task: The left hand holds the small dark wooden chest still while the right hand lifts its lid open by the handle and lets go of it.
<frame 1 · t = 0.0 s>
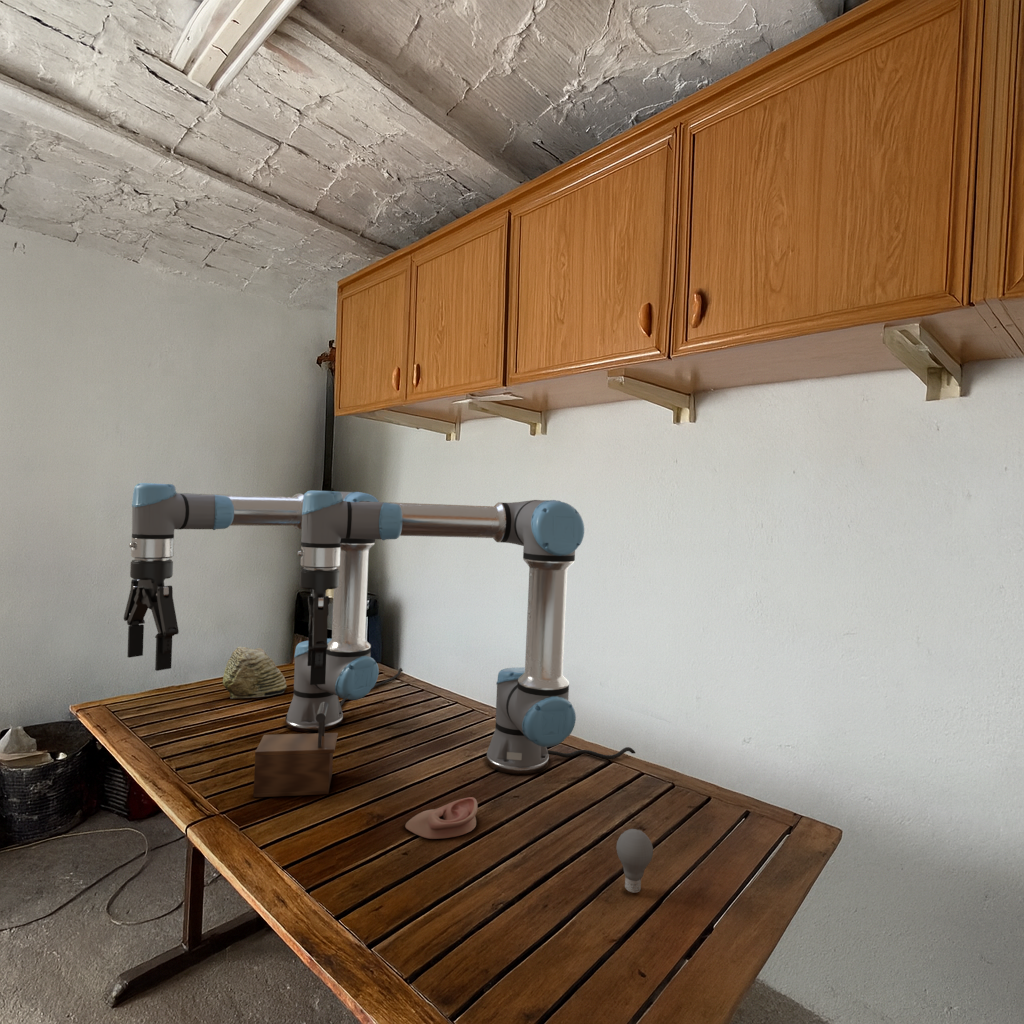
left hand: (148, 662, 129), 28 cm above the table, tool pointing down, fingers open, 13 cm apart
right hand: (315, 674, 126), 28 cm above the table, tool pointing down, fingers open, 13 cm apart
fossil: (254, 694, 198), on the table
lid: (298, 726, 138), point 13 cm above the table, hinge at 0.0°
chest: (294, 785, 138), on the table
light bulb: (632, 891, 106), on the table
anatomical model: (441, 825, 124), on the table
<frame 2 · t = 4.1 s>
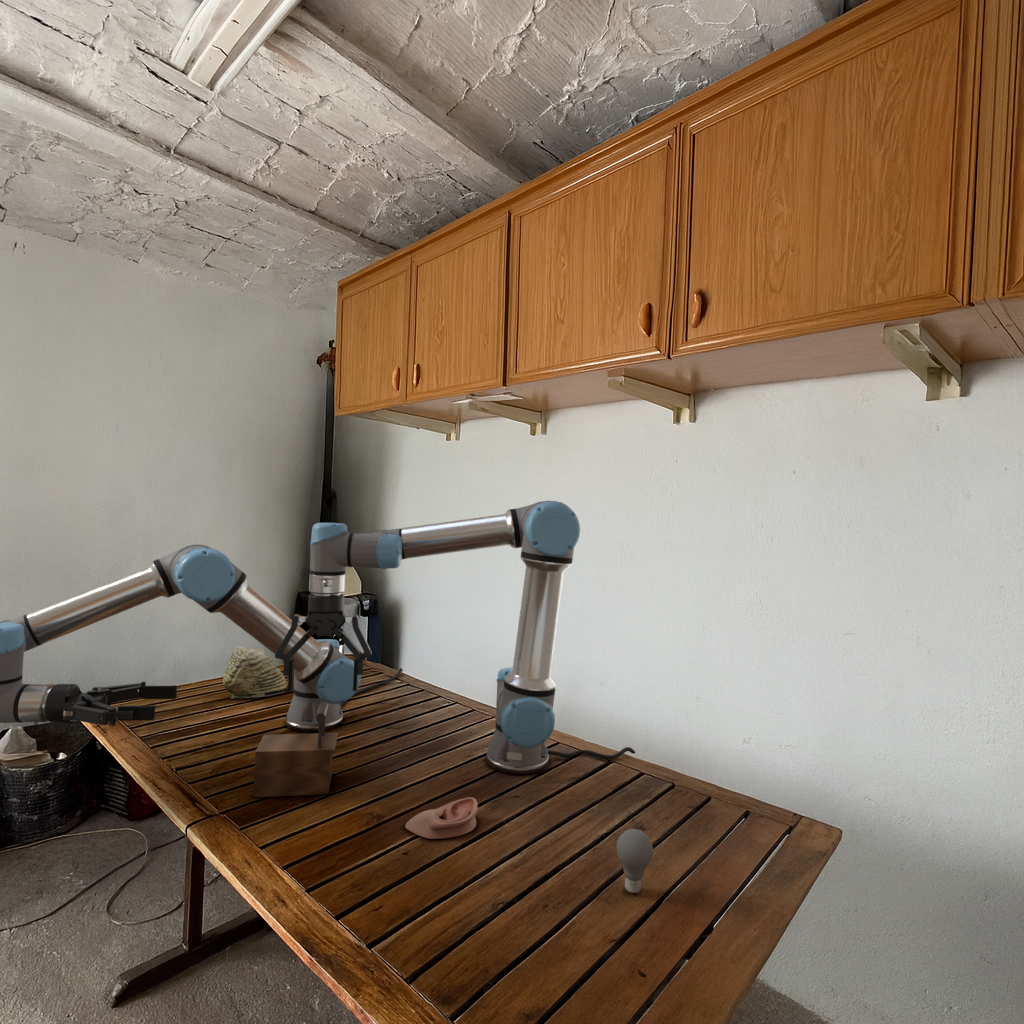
left hand: (166, 701, 133), 19 cm above the table, tool horizontal, fingers open, 13 cm apart
right hand: (323, 689, 139), 21 cm above the table, tool pointing down, fingers open, 13 cm apart
nothing on the table moved.
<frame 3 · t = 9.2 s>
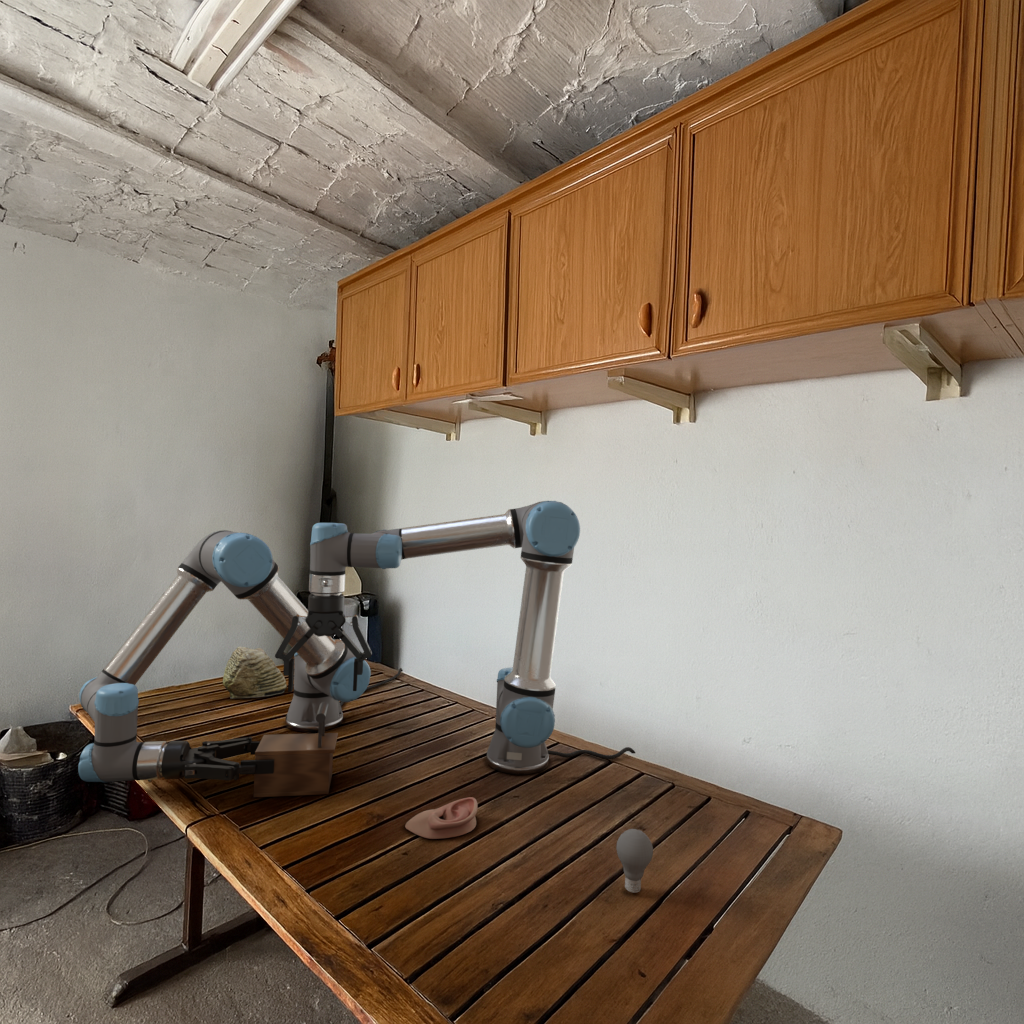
left hand: (277, 756, 137), 7 cm above the table, tool horizontal, fingers closed on chest, 10 cm apart
right hand: (323, 689, 139), 21 cm above the table, tool pointing down, fingers open, 13 cm apart
chest: (294, 785, 138), on the table, touching left hand
everything else where it was.
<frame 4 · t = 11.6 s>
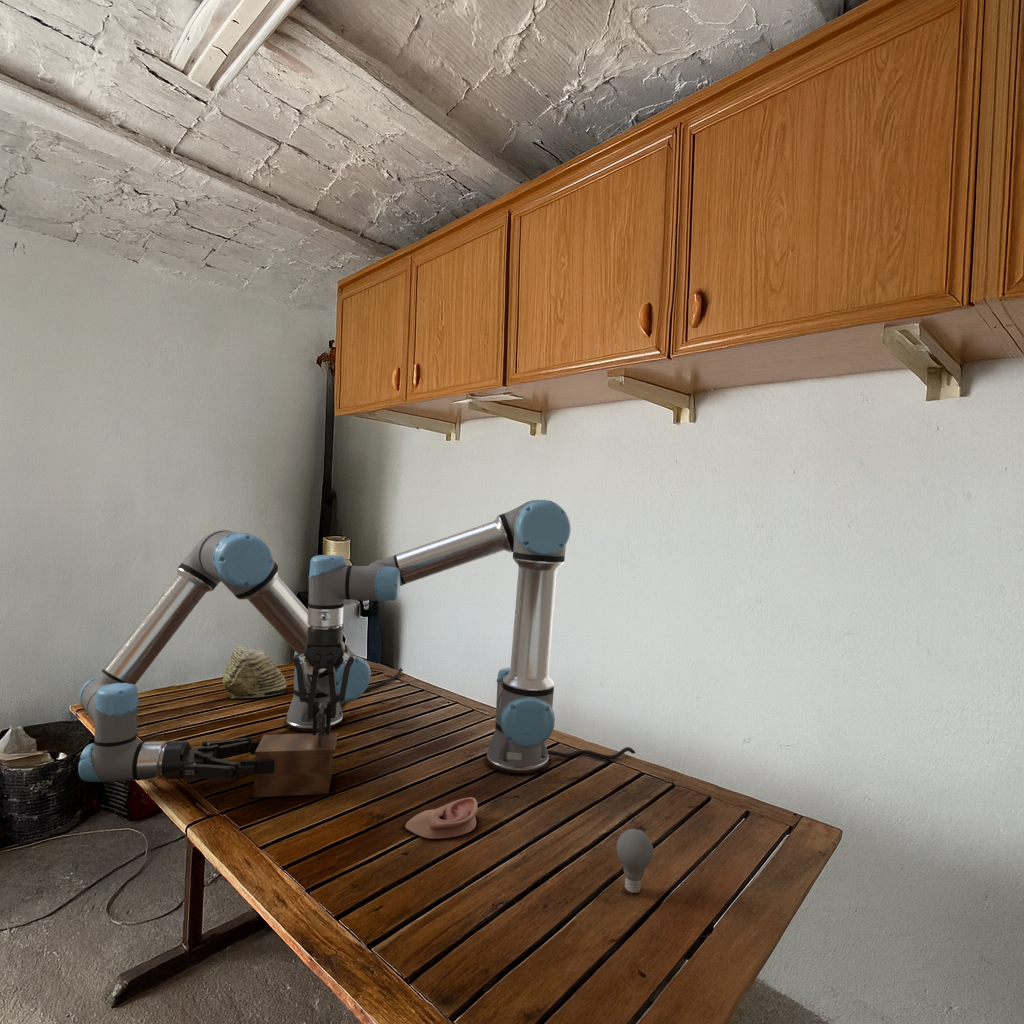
left hand: (277, 756, 137), 7 cm above the table, tool horizontal, fingers closed on chest, 10 cm apart
right hand: (321, 732, 139), 12 cm above the table, tool pointing down, fingers closed on lid, 2 cm apart
lid: (298, 726, 138), point 13 cm above the table, hinge at 0.0°, touching right hand
chest: (294, 785, 138), on the table, touching left hand
everything else where it was.
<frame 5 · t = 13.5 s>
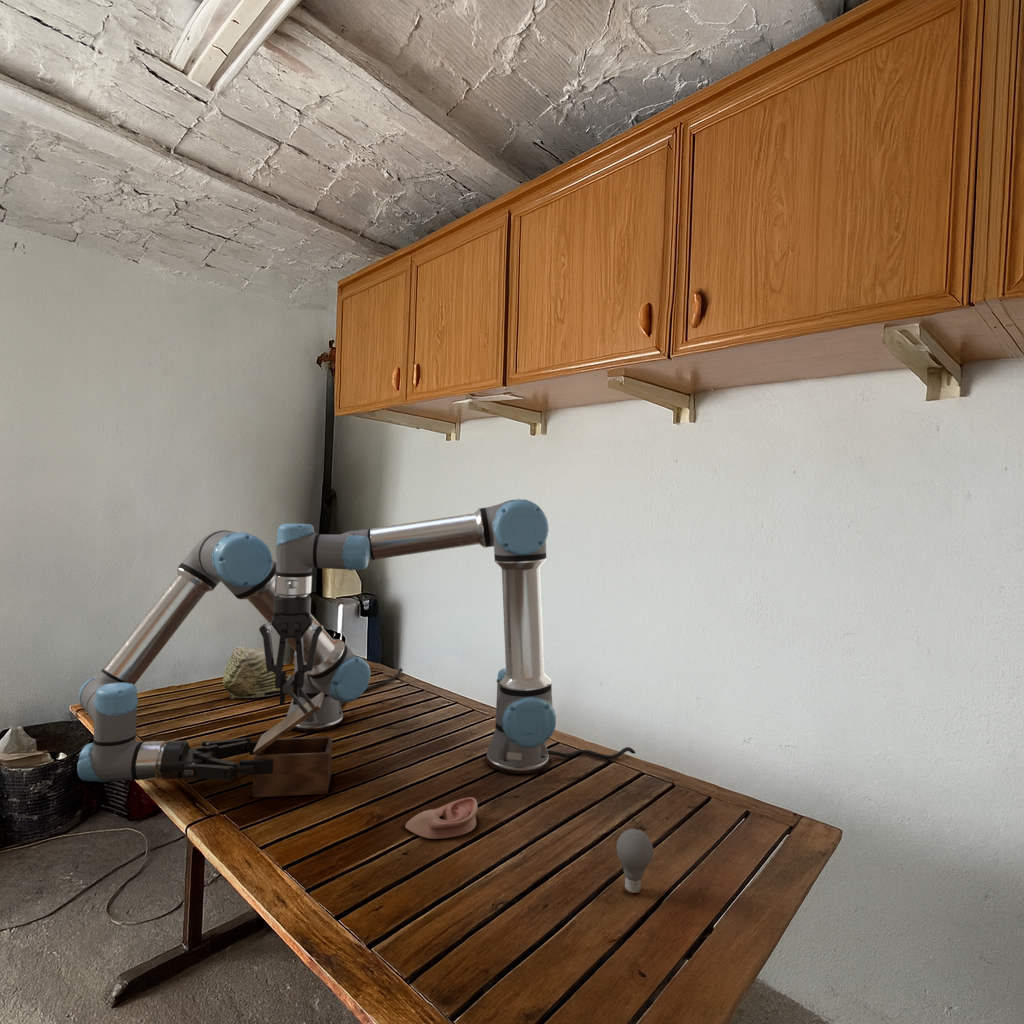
left hand: (276, 756, 137), 7 cm above the table, tool horizontal, fingers closed on chest, 10 cm apart
right hand: (289, 702, 138), 18 cm above the table, tool pointing down, fingers closed on lid, 2 cm apart
lid: (279, 708, 137), point 17 cm above the table, hinge at 36.8°, touching right hand
chest: (293, 785, 138), on the table, touching left hand
everything else where it was.
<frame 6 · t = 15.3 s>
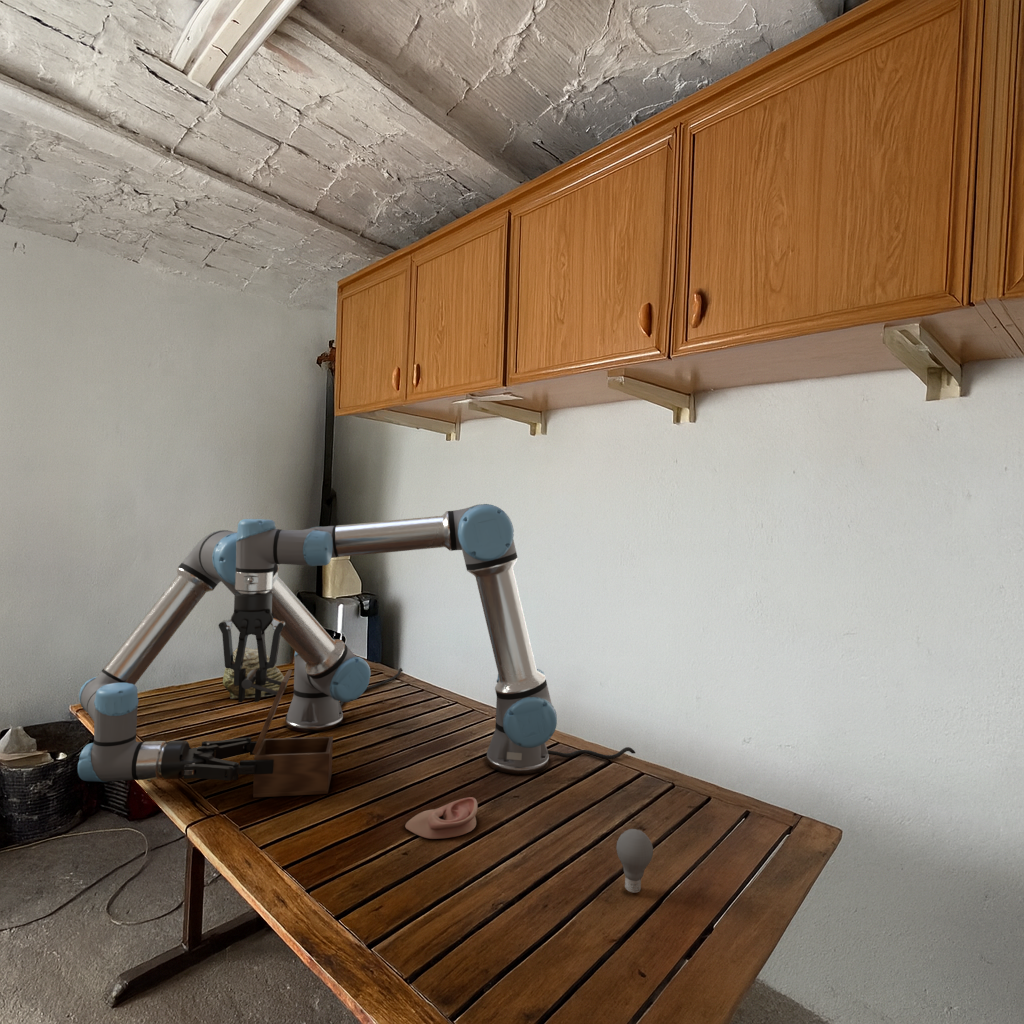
left hand: (277, 756, 137), 7 cm above the table, tool horizontal, fingers closed on chest, 10 cm apart
right hand: (249, 699, 136), 19 cm above the table, tool pointing down, fingers open, 3 cm apart
lid: (256, 704, 136), point 18 cm above the table, hinge at 69.9°
chest: (294, 785, 138), on the table, touching left hand
everything else where it was.
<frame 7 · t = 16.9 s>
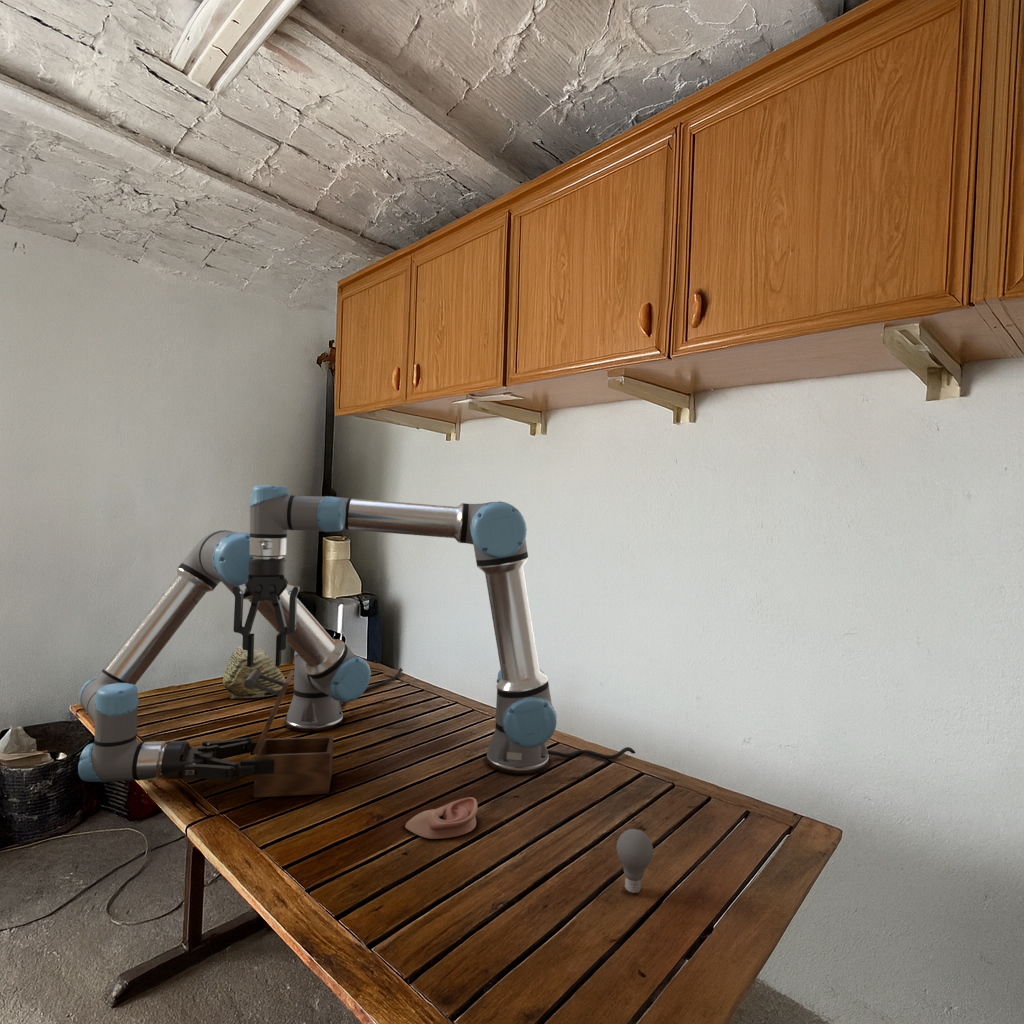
left hand: (277, 756, 137), 7 cm above the table, tool horizontal, fingers closed on chest, 10 cm apart
right hand: (264, 664, 136), 27 cm above the table, tool pointing down, fingers open, 5 cm apart
lid: (257, 704, 136), point 18 cm above the table, hinge at 68.2°
chest: (294, 785, 138), on the table, touching left hand
everything else where it was.
when the left hand's fingers open (7 cm above the table, at t = 19.5 s): chest stays where it is, on the table.
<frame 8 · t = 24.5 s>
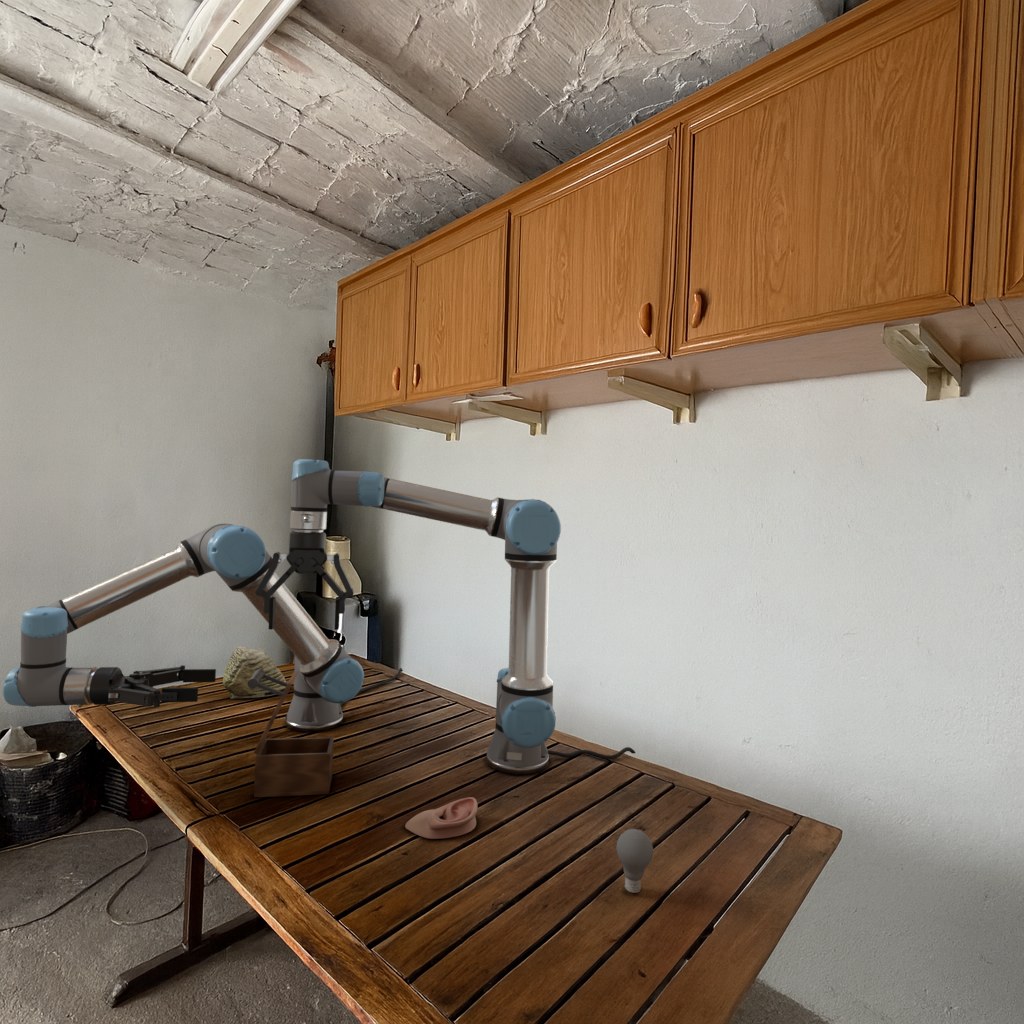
left hand: (206, 684, 134), 22 cm above the table, tool horizontal, fingers open, 13 cm apart
right hand: (304, 628, 138), 35 cm above the table, tool pointing down, fingers open, 13 cm apart
lid: (260, 704, 136), point 18 cm above the table, hinge at 66.5°
chest: (294, 785, 138), on the table
everything else where it was.
at the end: lid at +66° (first picture: +0°); the left hand is holding nothing; the right hand is holding nothing; chest tilted 0°; chest never tilted more than 1° during the clip; chest moved 0.1 cm from its start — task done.
